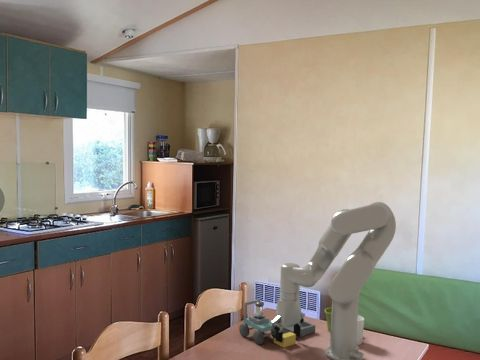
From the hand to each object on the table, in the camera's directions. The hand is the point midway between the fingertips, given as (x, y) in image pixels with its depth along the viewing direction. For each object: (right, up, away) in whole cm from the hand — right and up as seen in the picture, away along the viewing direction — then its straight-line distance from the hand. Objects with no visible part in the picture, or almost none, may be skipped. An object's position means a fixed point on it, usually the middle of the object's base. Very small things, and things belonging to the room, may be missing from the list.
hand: (288, 338), depth 176 cm
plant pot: (+22, -3, +17) cm, 27 cm away
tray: (+4, -2, +15) cm, 16 cm away
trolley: (-11, -2, +6) cm, 13 cm away
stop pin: (-11, +5, +7) cm, 14 cm away
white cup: (+27, -3, +5) cm, 28 cm away
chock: (-1, -3, +1) cm, 3 cm away
